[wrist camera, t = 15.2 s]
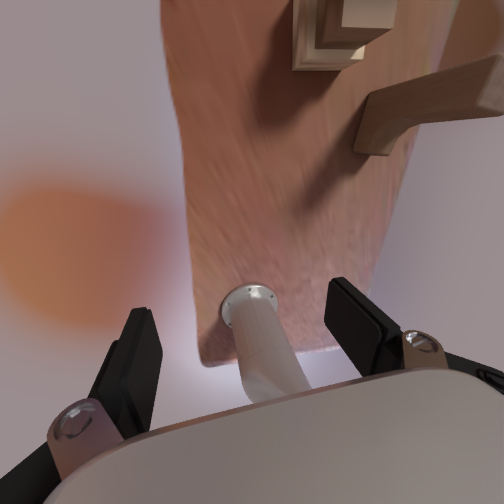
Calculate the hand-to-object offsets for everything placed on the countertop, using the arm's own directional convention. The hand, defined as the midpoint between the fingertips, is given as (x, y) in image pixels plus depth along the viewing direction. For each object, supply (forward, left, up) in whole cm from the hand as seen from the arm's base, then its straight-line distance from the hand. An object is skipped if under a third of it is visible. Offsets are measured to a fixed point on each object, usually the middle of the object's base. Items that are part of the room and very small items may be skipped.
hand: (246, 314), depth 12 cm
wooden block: (+9, -28, -30) cm, 42 cm away
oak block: (+21, -18, -30) cm, 41 cm away
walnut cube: (+21, -18, -25) cm, 37 cm away
